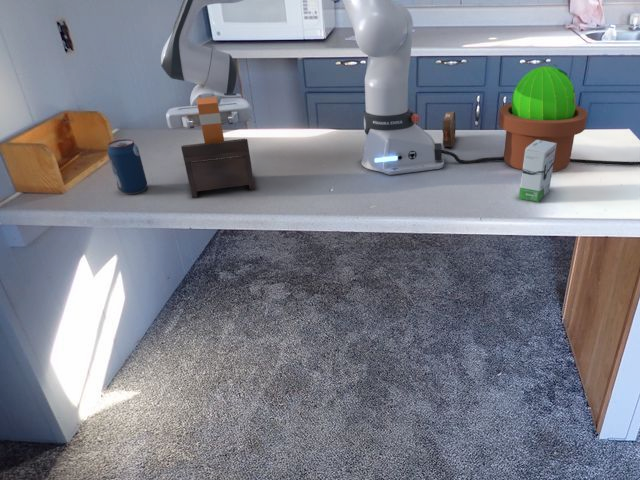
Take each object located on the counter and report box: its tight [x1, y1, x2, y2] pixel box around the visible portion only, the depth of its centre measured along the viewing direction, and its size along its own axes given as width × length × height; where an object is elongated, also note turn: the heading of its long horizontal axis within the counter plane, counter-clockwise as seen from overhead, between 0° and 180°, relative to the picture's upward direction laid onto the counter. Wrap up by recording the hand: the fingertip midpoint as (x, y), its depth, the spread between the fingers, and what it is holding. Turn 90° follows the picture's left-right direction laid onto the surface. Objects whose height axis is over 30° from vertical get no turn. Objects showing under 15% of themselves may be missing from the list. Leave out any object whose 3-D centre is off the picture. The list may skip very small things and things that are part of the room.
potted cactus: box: [497, 63, 589, 172], centre depth 141 cm, size 22×22×25 cm
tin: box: [442, 110, 456, 148], centre depth 161 cm, size 15×3×8 cm, turn 168°
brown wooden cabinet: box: [180, 138, 256, 199], centre depth 134 cm, size 15×10×12 cm, turn 107°
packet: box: [197, 97, 225, 143], centre depth 129 cm, size 4×6×11 cm
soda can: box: [106, 138, 148, 195], centre depth 133 cm, size 7×7×12 cm
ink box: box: [518, 140, 557, 203], centre depth 126 cm, size 9×5×12 cm, turn 148°
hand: (211, 123), depth 129 cm, fingers open, 8 cm apart
